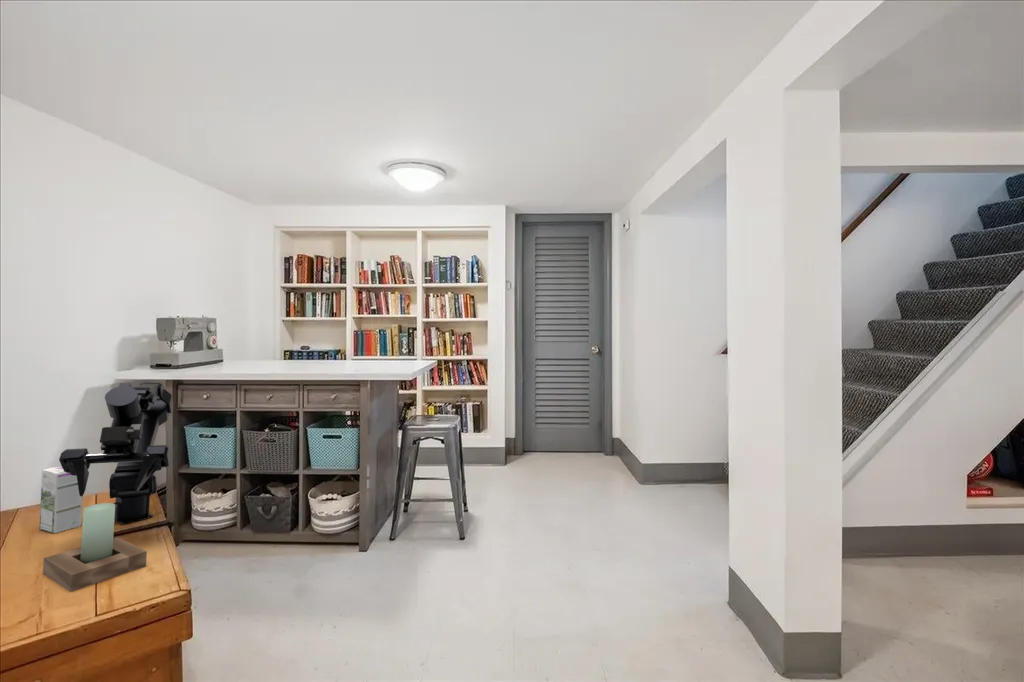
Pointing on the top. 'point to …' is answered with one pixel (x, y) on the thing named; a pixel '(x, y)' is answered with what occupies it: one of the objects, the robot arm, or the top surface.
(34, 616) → the top surface
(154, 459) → the robot arm
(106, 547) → the peg
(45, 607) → the top surface
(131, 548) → the pocket block
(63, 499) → the syrup box
